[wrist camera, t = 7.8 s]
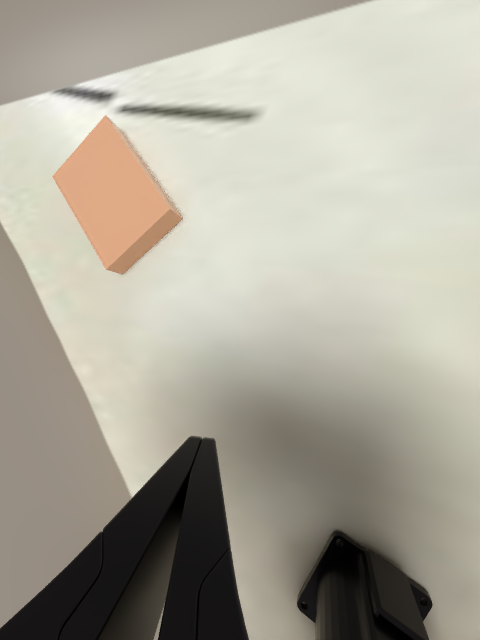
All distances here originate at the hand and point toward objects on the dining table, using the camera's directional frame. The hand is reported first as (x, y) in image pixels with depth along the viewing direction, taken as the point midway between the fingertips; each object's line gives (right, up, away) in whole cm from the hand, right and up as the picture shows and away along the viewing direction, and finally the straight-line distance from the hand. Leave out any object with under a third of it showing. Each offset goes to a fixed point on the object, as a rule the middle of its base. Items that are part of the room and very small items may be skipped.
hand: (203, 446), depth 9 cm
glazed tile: (-7, +11, +15) cm, 20 cm away
